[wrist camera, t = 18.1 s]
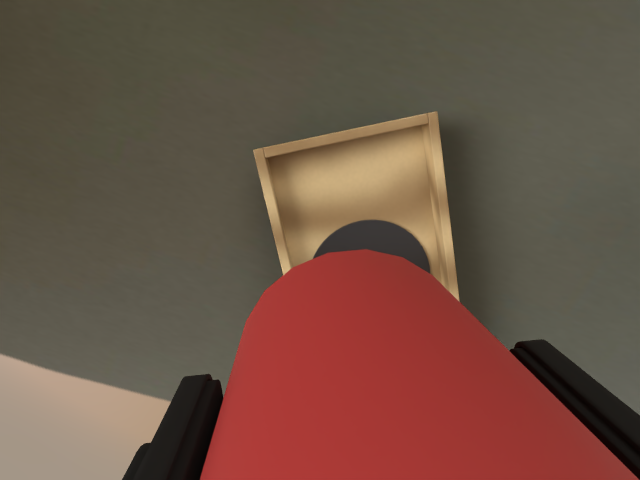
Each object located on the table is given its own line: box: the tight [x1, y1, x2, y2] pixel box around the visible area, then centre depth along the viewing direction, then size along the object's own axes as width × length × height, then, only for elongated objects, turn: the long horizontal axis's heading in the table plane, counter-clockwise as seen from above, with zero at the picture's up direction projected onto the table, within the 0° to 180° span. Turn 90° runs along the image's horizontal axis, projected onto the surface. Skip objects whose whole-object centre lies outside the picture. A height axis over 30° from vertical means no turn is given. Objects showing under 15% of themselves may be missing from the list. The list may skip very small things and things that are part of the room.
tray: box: [253, 111, 460, 302], centre depth 23 cm, size 20×11×8 cm, turn 11°
